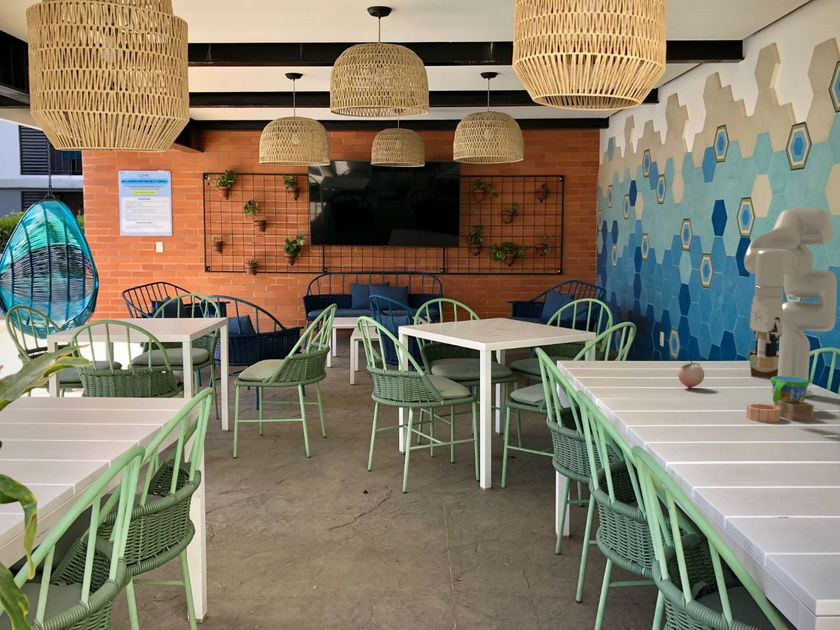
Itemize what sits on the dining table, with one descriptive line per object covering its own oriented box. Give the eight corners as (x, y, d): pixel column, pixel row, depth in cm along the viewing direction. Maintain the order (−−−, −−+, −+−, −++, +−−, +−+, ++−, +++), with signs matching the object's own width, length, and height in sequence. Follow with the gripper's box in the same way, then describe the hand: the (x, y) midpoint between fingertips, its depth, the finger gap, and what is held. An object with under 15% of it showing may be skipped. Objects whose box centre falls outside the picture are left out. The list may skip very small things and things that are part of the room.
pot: (740, 417, 243) (741, 404, 242) (768, 416, 244) (769, 403, 243) (756, 424, 234) (757, 410, 233) (786, 423, 235) (786, 409, 235)
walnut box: (776, 417, 243) (777, 400, 243) (798, 416, 244) (799, 400, 244) (790, 422, 236) (791, 405, 236) (812, 421, 237) (813, 404, 237)
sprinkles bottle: (776, 369, 236) (779, 322, 234) (762, 369, 235) (765, 323, 233) (766, 366, 240) (768, 321, 239) (752, 366, 239) (755, 321, 238)
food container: (784, 377, 312) (785, 351, 311) (781, 379, 307) (782, 353, 306) (750, 374, 318) (751, 348, 317) (746, 376, 313) (748, 350, 312)
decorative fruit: (694, 392, 281) (695, 363, 280) (673, 388, 287) (674, 360, 286) (708, 388, 287) (710, 360, 286) (687, 385, 293) (688, 357, 292)
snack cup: (787, 405, 260) (788, 373, 259) (818, 411, 251) (820, 378, 250) (757, 411, 252) (758, 378, 251) (789, 417, 243) (790, 383, 242)
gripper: (741, 290, 243) (738, 351, 245) (772, 295, 226) (769, 360, 228) (764, 290, 244) (761, 351, 246) (798, 294, 227) (794, 359, 229)
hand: (765, 354), depth 237 cm, fingers closed on sprinkles bottle, 4 cm apart
